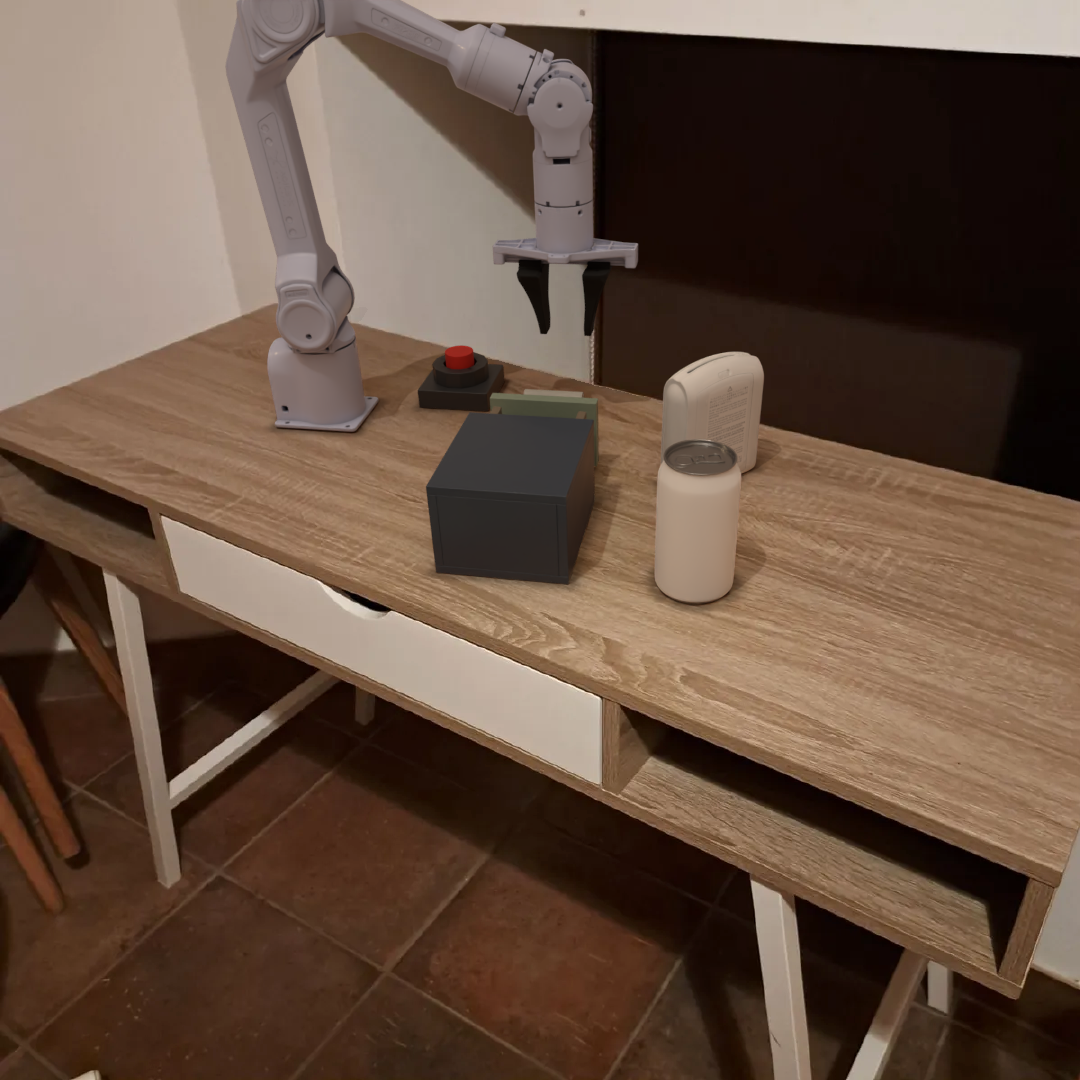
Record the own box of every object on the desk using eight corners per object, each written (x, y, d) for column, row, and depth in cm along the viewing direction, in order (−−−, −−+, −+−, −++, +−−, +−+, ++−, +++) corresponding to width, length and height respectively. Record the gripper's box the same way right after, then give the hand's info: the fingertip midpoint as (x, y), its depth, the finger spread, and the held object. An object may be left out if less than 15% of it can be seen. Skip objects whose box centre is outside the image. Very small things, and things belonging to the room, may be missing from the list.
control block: (419, 407, 114) (415, 375, 112) (439, 378, 120) (436, 346, 118) (488, 411, 112) (485, 378, 110) (504, 381, 119) (502, 349, 117)
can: (648, 564, 86) (651, 439, 80) (722, 557, 87) (731, 433, 80) (662, 609, 81) (666, 480, 74) (741, 603, 81) (753, 473, 75)
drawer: (507, 432, 106) (503, 372, 102) (605, 438, 104) (605, 377, 100) (464, 519, 92) (457, 453, 88) (576, 528, 90) (575, 461, 86)
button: (442, 370, 113) (441, 355, 112) (450, 359, 116) (449, 344, 115) (470, 371, 113) (469, 357, 112) (477, 360, 115) (476, 345, 114)
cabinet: (476, 492, 98) (469, 412, 93) (594, 501, 95) (593, 419, 91) (435, 572, 87) (425, 486, 82) (568, 584, 84) (566, 496, 80)
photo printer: (732, 452, 102) (741, 336, 96) (762, 468, 99) (773, 350, 92) (652, 483, 98) (655, 364, 91) (681, 501, 95) (687, 380, 88)
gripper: (481, 209, 97) (491, 343, 104) (632, 212, 94) (630, 349, 102) (499, 190, 103) (506, 318, 110) (641, 192, 100) (639, 323, 107)
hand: (567, 331), depth 106 cm, fingers open, 4 cm apart
